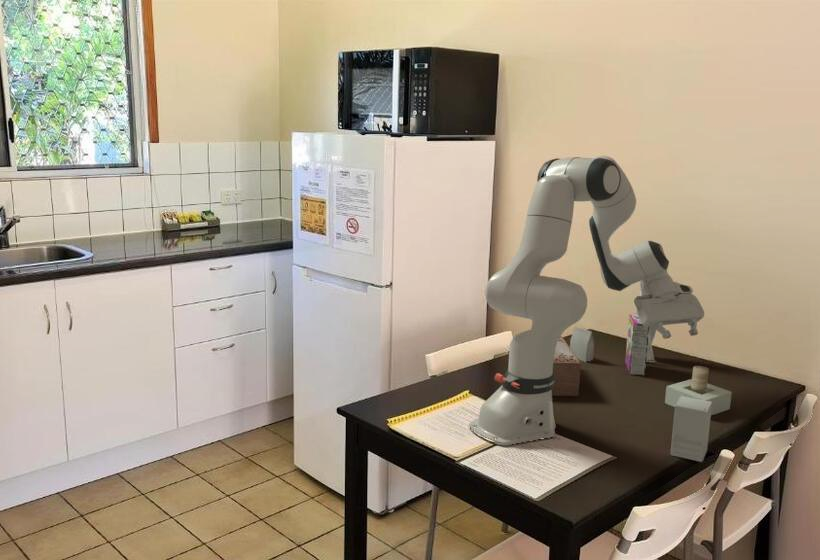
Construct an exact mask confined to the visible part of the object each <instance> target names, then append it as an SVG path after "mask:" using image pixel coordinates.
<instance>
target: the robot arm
mask: <svg viewBox="0 0 820 560" xmlns="http://www.w3.org/2000/svg"><path fill="white" fill-rule="evenodd" d="M536 180H537V183H536V185H535V187H534V190H533V192H532V195H531V198H530V202H529V206H528V209H527V213H526V220H525V223H524V224H525V225H524V229H523V234H522V237H521V240H520V241H521V242H520V244H519V247H518V250H517V252H516V253H515V255H514V256H513V258H512V259H511V260H510V261H509V263H508V264H507V265H506V266H504V267H503V268H502V269H501V270H499V271H497V272H495V273H494V274H493V275H492V276H491V277H490V278H489V280H488V281H487V283H486V285H485V289H484V291H485V292H484V293H485V294H484V295H485V300H486V302H487V305H488V306H489V307H490V308H491V309H493V310H495V311H497V312H499V313H501V314H504V315H507V316H513V317H518V318H523V319H529V320H531V321H532V322H531V323H532V324H531V329H527V330H525V331H522V332H520V333H517V334H515V336H514V337H512V339H511V340H510V343H509V347H508V348H509V351H508V368H507V369H506V372H505V374H501V373H499V372H497V373H496V374H495V375H494V376H493V377H494V381H496V382H499V383H500V384H501V386H499V388H497V389H496V390H495V392H494V393H493V394H492V395H490V397H488V399H486V400H485V401H484V402H483V403H482V404H481V406H480V410H479V413H478V414H479V415H478V418H476V419H474V420H472V421H470V422H469V424H468V427H469V426H470V428H471V429H472V430H473V431H475V432H476V433H478V434H480V435H481V436H483V437H485V438H488V439H490V440H493V441H494V442H495V445H499V446H502V447H503V446H505V447H507V446H512V444H513V445H517V444H516V443H519V444H522V443H521V442H524V443H527V442H526V441H530V442H532V441H531V440H536V439H541V438H548V439H550V438H549V437H553V438H555V437H556V431H555V429H556V427H557V425H556V421H555V418H554V417H555V416H554V407H553V406H554V404H553V395H552V389H553V387H554V373H553V362H554V354H555V348H556V344H557V342H558V339H559V337H560V336H562V335H563V333H564V332H565V331H566V330H567V329H568V328H570V327H571V326H572V325H574V324H577V322H579V321H580V320H581V319H582V318H583V317H584V315H585V314H586V311H587V308H588V298H587V294H586V290H585V289H584V287H583V286H582V285H581V284H578V283H576V282H573V281H570V280H567V279H566V278H565V279H564V278H557V277H552V276H546V275H541V272H542V271H543V269H544V267H546V266H547V265H548V264H551V263H553V262H555V261H556V262H557V261H558V260H560V259H561V258H562V257H563V256H565V254H566V253H567V251H568V246H569V245H568V244H569V239H570V235H571V234H570V233H571V229H572V223H573V219H574V218H573V217H574V205H575V202H591V204H592V206H593V212H592V215H591V217H590V218H589V220H588V224H589V225H588V226H589V230H590V234H591V238H592V242H593V245H594V250H595V253H596V256H597V259H598V262H599V263H598V264H599V269H600V276H601V279H602V281H603V283H604V284H605V286H606V287H607V289H610V290H613V291H618V292H621V291H623V290H625V289H627V288H628V287H630V286H631V285H635V284H636V283H641V284H642V289H643V292H644V294H645V296H639V295H637V296H636V297H635V298H634V301H633V303H634V306H635V309H636V308H637V313H638V316H639V319H640V322H641V324H642V325H643V326H645V327H649V326H654V327H655V329H656V332H658V333H660V334H661V336H662V338H663V339H665V340H666V339H669V338H671V337H672V334H671V332H670V330H669V329H666V328H665V327H664V326H666V325H667V326H668V325H669V326H670V325H677V324H687V325H688V326H690V329H689V330H688V333H689V335H690V337H695V336H697V335H698V334H699V330H698V329H697V327H698V326H697V324H698V322H699V321H701V320H702V319H703V318H704V317H705V311H704V308H703V306H702V305H701V302H700V300H699V298H697V297H696V295H694V294H693V293H694V289H693V288H692V287H691V286H689V285H686V284H681V283H679V282H677V281H674V280H673V278H672V277H671V275H669V273H668V268H669V264H670V261H669V259H668V258H667V256H666V255H665V252H664V249H663V247H662V245H661V244H660V243H659V242H655V241H652V240H648V241H647V240H646V241H644V242H640V243H639V244H637V245H634V246H632V247H631V248H628V249H626V250H624V251H621V252H620V253H618V254H613V253H612V250H611V246H610V242H609V241H610V239H611V237H612V235H614V233H615V232H616V231H617V230H618V229H619V228H620V227H621V226H623V225H624V224H625V223H627V221H628V220H629V219H630V218H631V217H632V215H633V213H634V212H635V210H636V206H637V197H636V193H635V191H634V188H633V186H632V184H631V182H630V180H629V178H628V177H627V175H626V173H625V172H624V170H623V169H622V168H621V166H620V165H619V164H618V163H617V162H616V160H615V159H614V158H612V157H611V156H607V155H601V156H600V155H599V156H596V157H594V158H592V157H580V156H575V157H574V156H573V157H571V156H570V157H565V158H553V159H550V160H547V161H545V162H544V163H543V164H542V165H541V167H540V169H539V170H538V174H537V179H536ZM474 427H476V428H474ZM470 428H469V429H470ZM495 438H496V439H497V440H495ZM536 441H537V440H536Z"/></svg>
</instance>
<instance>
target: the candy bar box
mask: <svg viewBox="0 0 820 560" xmlns="http://www.w3.org/2000/svg"><path fill="white" fill-rule="evenodd" d="M627 324H628V325H627V337H626V351H625V363H624V364H625V366H626V369H627V371H628V373H629V375H632V376H645V375H646V365H647V363H646V357H647V346H648V334H649V327H645V326H643V325H642V324H641V322H640V319H639V316H638V315H636V314H632V313H631V314H628V322H627Z"/></svg>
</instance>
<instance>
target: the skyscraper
mask: <svg viewBox="0 0 820 560" xmlns="http://www.w3.org/2000/svg"><path fill="white" fill-rule="evenodd" d="M638 283H639V289H640V291H639V295H638V296H645V294H644V292H643V289H642V284H641V283H640V282H638ZM635 315H638V313H637V308H636V307H635ZM656 333H657V330H656V329H655V327H654V326H649V334H648V346H647V357H646V362H650V363H657V360H655V355H654V351H653V345H652V344H653V341H654V339H655V336H656Z"/></svg>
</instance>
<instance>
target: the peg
mask: <svg viewBox="0 0 820 560" xmlns="http://www.w3.org/2000/svg"><path fill="white" fill-rule="evenodd" d="M692 367H693V368H692V375H691V379H692V383H691V391H693V392H696V393H699V394H701V395H702V394H706V390H707V383H708V381H709V380H708V379H709V373H710V372H709V371H710V369H709V367H706V366H703V365H694V366H692Z"/></svg>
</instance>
